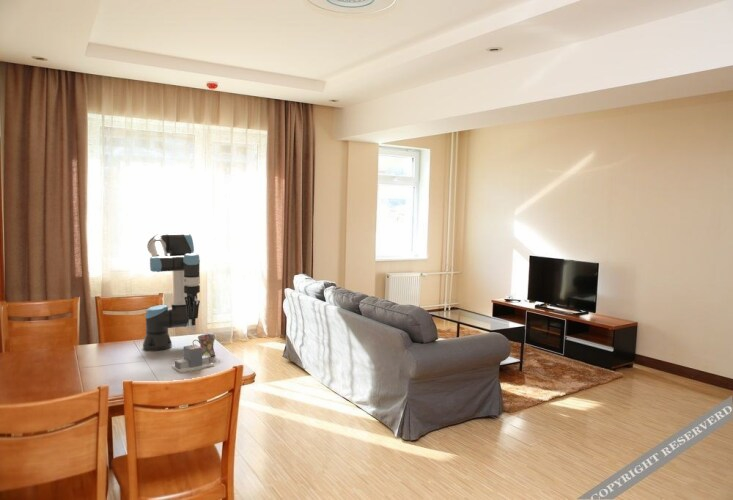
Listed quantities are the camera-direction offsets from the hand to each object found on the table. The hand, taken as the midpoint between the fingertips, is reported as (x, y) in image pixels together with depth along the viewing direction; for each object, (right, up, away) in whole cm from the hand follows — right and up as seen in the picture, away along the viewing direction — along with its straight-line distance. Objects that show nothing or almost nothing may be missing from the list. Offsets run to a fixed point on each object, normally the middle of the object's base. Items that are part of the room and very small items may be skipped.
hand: (192, 331), depth 262 cm
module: (0, -17, +1) cm, 17 cm away
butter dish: (0, -18, +1) cm, 18 cm away
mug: (0, -17, +19) cm, 26 cm away
